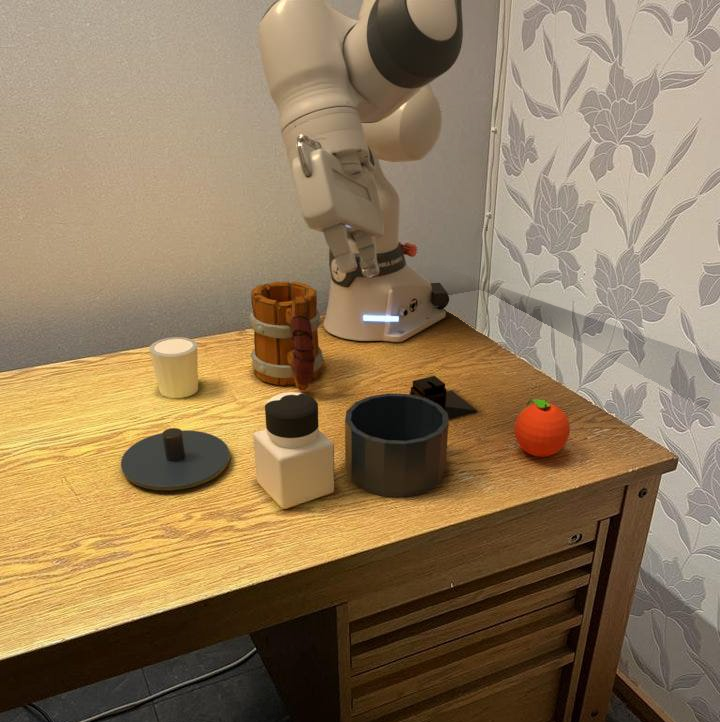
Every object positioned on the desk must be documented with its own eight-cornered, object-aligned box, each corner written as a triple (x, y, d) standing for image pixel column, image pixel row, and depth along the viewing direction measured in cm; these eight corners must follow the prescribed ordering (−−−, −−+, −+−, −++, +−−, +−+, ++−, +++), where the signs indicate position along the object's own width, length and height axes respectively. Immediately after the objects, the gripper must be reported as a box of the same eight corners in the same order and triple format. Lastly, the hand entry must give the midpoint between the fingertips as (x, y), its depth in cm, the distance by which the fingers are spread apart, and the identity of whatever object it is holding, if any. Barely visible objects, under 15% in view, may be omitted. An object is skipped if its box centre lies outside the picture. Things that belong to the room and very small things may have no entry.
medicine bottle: (335, 493, 96) (334, 404, 89) (282, 511, 93) (277, 421, 86) (306, 465, 101) (303, 380, 94) (255, 482, 98) (248, 395, 91)
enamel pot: (396, 434, 108) (398, 384, 104) (464, 471, 100) (469, 419, 96) (325, 466, 101) (324, 414, 97) (393, 509, 93) (395, 455, 89)
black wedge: (401, 432, 108) (402, 402, 106) (376, 409, 114) (376, 380, 111) (477, 412, 113) (480, 383, 110) (450, 391, 118) (452, 362, 116)
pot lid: (194, 427, 109) (190, 397, 106) (250, 467, 101) (248, 435, 98) (103, 462, 102) (96, 430, 99) (156, 508, 93) (150, 474, 91)
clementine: (498, 440, 107) (504, 392, 103) (544, 432, 108) (552, 385, 105) (527, 471, 100) (534, 421, 96) (575, 461, 102) (584, 413, 98)
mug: (310, 351, 130) (307, 261, 122) (343, 396, 117) (342, 297, 109) (245, 361, 127) (237, 268, 118) (272, 407, 114) (265, 307, 106)
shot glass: (197, 400, 116) (192, 356, 112) (150, 399, 116) (143, 355, 112) (206, 379, 121) (201, 336, 117) (161, 378, 121) (155, 335, 118)
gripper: (323, 118, 78) (361, 258, 79) (377, 157, 97) (406, 270, 98) (265, 141, 80) (304, 277, 81) (329, 175, 99) (359, 285, 100)
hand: (361, 273), depth 90 cm, fingers open, 8 cm apart
